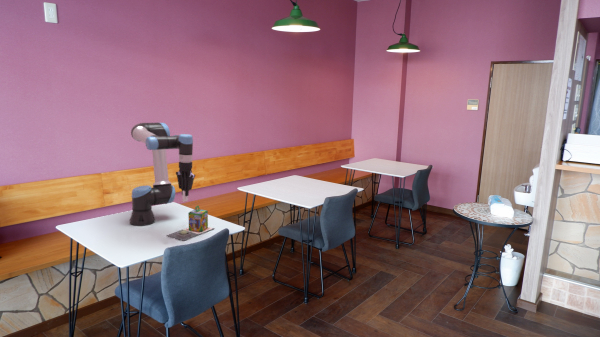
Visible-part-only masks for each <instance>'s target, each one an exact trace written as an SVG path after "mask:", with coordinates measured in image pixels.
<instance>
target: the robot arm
mask: <svg viewBox="0 0 600 337" xmlns="http://www.w3.org/2000/svg"><path fill="white" fill-rule="evenodd" d="M130 135H131V137H132V139H134V141H137V142H142V143H143V144H145V147H146V149H147V150H149V151H151V152H152V153H151V154H152V164H153V174H154V175H153V176H154V183H153V184H152V186H151V185H140V186H136V187H134V188H133V189H132V191H131V208H132V212H131V214H130V219H129V224H130V225H131V226H137V227H138V226H140V227H142V226H149V225H152V224H154V223H155V221H156V219H155V215H154V212H153V210H152V208H153V206H158V205H168V204H171V203H173V202H174V201H175V198H176V188H175V186H174V185H172V182H171V181H170V180H169V171H168V161H167V150H178V161H179V162H178V168H179V170H178V171H175V175H176V179H177V183H178V189H179V190H180V189H181V190H180V191H181V196H182V202H183V203H185V202H188V200H189V192H190V190H192V189H193V184H194V180H195V177H196V174H194V173H193V170H192V169H193V148H194V147H193V144H194V138H193V135H192V134H188V133H186V134H185V133H181V134H175V135H171V132H170V127H169V126H168V124H166V123H165V122H140V123H137V124H135V125H134V126H132V127H131V130H130Z"/></svg>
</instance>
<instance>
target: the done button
mask: <svg viewBox="0 0 600 337" xmlns="http://www.w3.org/2000/svg"><path fill="white" fill-rule="evenodd" d="M180 230H181V231H180ZM180 230H179V231H180V234H181V235H186V234H187V230H183V229H180Z"/></svg>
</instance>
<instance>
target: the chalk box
mask: <svg viewBox="0 0 600 337" xmlns="http://www.w3.org/2000/svg"><path fill="white" fill-rule="evenodd" d="M208 211H209V210H207V209H200V206H199V204H198V205H196V206H195V208H194V209H192V210H190V211H189V212H188V227H189V231H200V232H202V231H204V230H205V229H207V228H208V227H209V212H208Z"/></svg>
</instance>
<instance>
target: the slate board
mask: <svg viewBox="0 0 600 337" xmlns="http://www.w3.org/2000/svg"><path fill="white" fill-rule="evenodd" d="M181 230H187V234H186V235H181V234H180V231H181ZM214 230H215V228H214V227H212V226H208V228H207V229H205V230H204V231H202V232H200V231H189V226H188V227H186V228H183V229H180V230H177V231H175V232H172V233H169V234H166V237H167V236H168V238H172V239H174V238H175V240H178V241H181V242H185V241H188V240H191V239H193V238H196V237H198V236H201V235H202V234H206V233H208V232H211V231H214Z"/></svg>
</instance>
